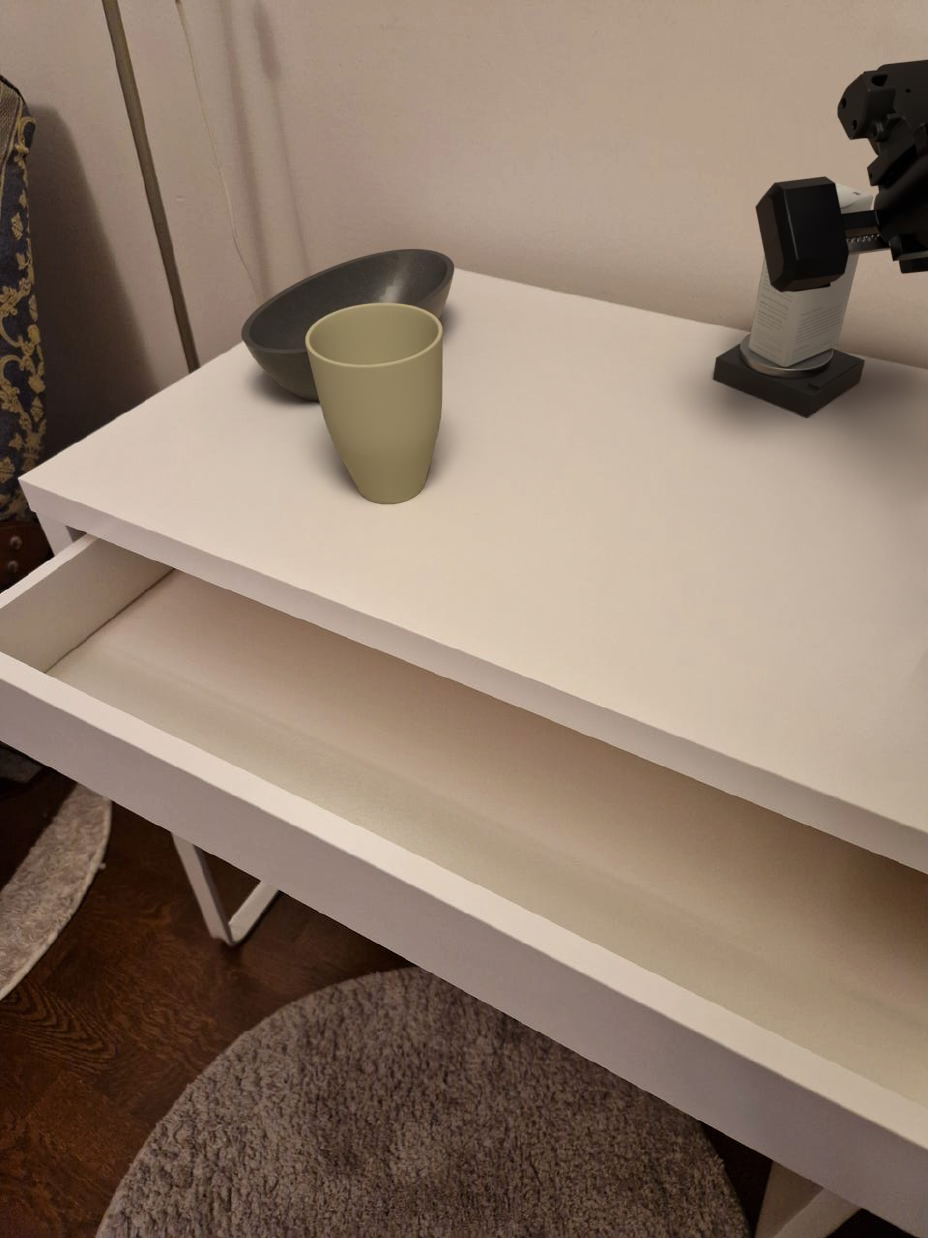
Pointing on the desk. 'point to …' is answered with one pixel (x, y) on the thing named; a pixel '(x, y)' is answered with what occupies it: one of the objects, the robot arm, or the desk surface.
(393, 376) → the olive green cup
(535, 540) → the desk surface
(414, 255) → the bowl
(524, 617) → the desk surface
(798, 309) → the cosmetic box
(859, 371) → the scale
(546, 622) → the desk surface
